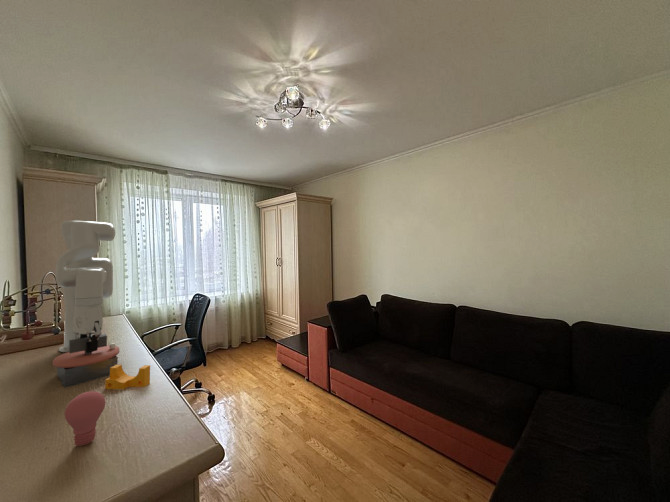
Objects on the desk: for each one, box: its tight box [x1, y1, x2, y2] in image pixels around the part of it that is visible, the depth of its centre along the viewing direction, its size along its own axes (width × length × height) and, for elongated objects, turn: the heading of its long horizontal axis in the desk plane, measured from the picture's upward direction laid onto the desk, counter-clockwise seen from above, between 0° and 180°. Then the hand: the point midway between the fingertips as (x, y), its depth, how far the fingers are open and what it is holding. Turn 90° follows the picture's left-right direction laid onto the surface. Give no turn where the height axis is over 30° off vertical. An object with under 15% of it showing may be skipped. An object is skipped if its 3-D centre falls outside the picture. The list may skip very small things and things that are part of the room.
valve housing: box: [56, 355, 119, 389], centre depth 97 cm, size 14×14×6 cm
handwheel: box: [52, 333, 120, 368], centre depth 97 cm, size 18×18×7 cm
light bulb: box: [64, 390, 106, 446], centre depth 63 cm, size 7×7×12 cm
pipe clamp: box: [104, 364, 151, 390], centre depth 89 cm, size 12×4×6 cm, turn 90°
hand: (87, 350), depth 97 cm, fingers closed on handwheel, 4 cm apart
